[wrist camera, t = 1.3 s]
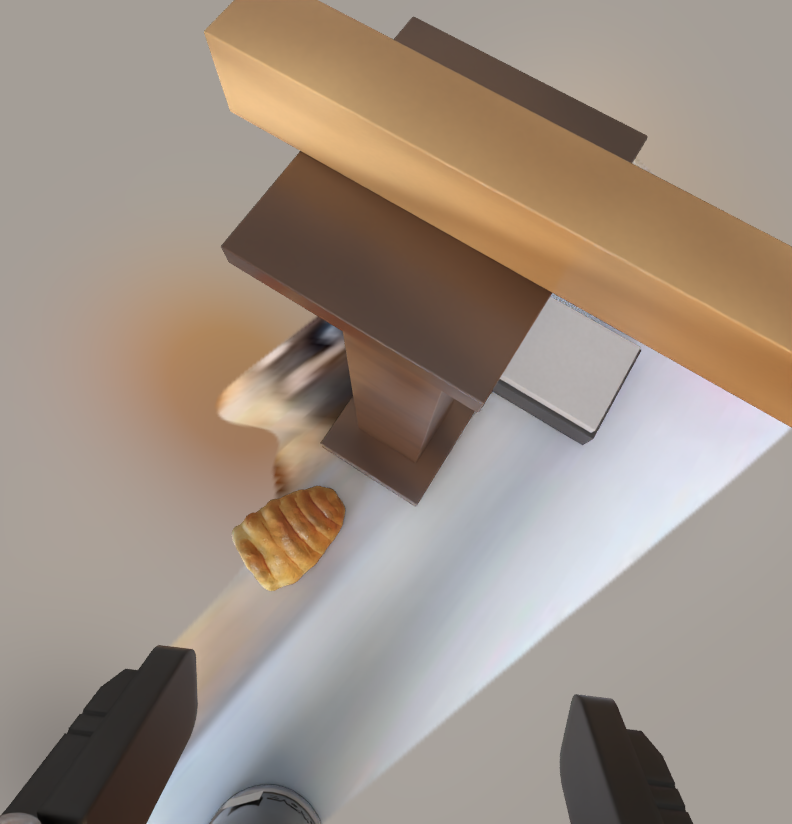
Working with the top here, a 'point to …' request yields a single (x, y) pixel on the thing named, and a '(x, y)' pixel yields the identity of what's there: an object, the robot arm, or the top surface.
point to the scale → (568, 371)
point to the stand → (406, 285)
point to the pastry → (289, 535)
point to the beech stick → (518, 190)
